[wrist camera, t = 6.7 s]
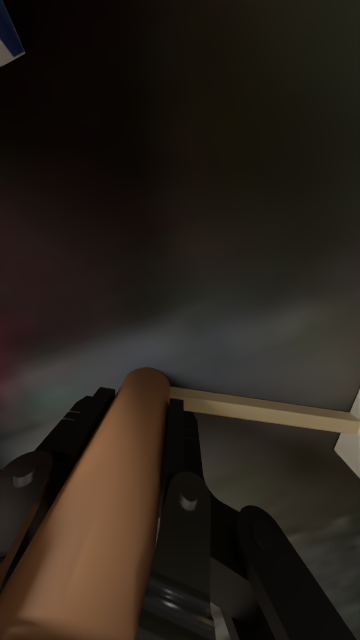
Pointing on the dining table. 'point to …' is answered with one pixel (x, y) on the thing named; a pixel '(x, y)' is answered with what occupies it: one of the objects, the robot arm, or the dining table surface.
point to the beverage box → (8, 38)
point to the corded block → (124, 512)
